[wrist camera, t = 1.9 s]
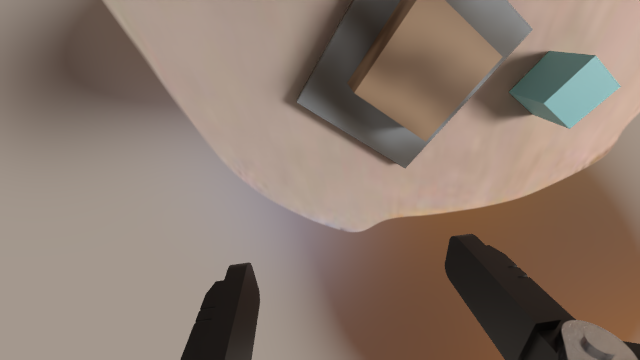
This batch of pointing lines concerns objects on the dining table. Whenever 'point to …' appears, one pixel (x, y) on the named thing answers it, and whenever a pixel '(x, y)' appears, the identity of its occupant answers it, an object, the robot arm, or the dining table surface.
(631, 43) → the dining table surface
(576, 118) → the teal cube
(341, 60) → the stacking base
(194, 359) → the robot arm
